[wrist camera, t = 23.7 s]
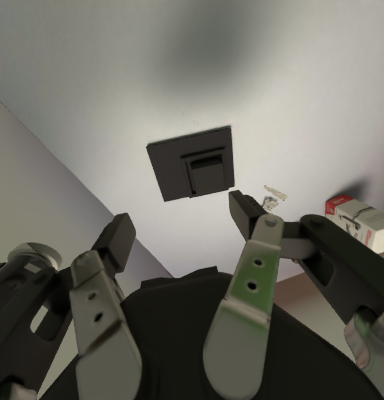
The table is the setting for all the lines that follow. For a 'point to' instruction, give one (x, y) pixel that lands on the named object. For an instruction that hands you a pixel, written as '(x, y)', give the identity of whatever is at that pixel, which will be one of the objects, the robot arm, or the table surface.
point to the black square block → (208, 176)
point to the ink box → (358, 221)
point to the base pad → (190, 161)
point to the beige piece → (271, 204)
